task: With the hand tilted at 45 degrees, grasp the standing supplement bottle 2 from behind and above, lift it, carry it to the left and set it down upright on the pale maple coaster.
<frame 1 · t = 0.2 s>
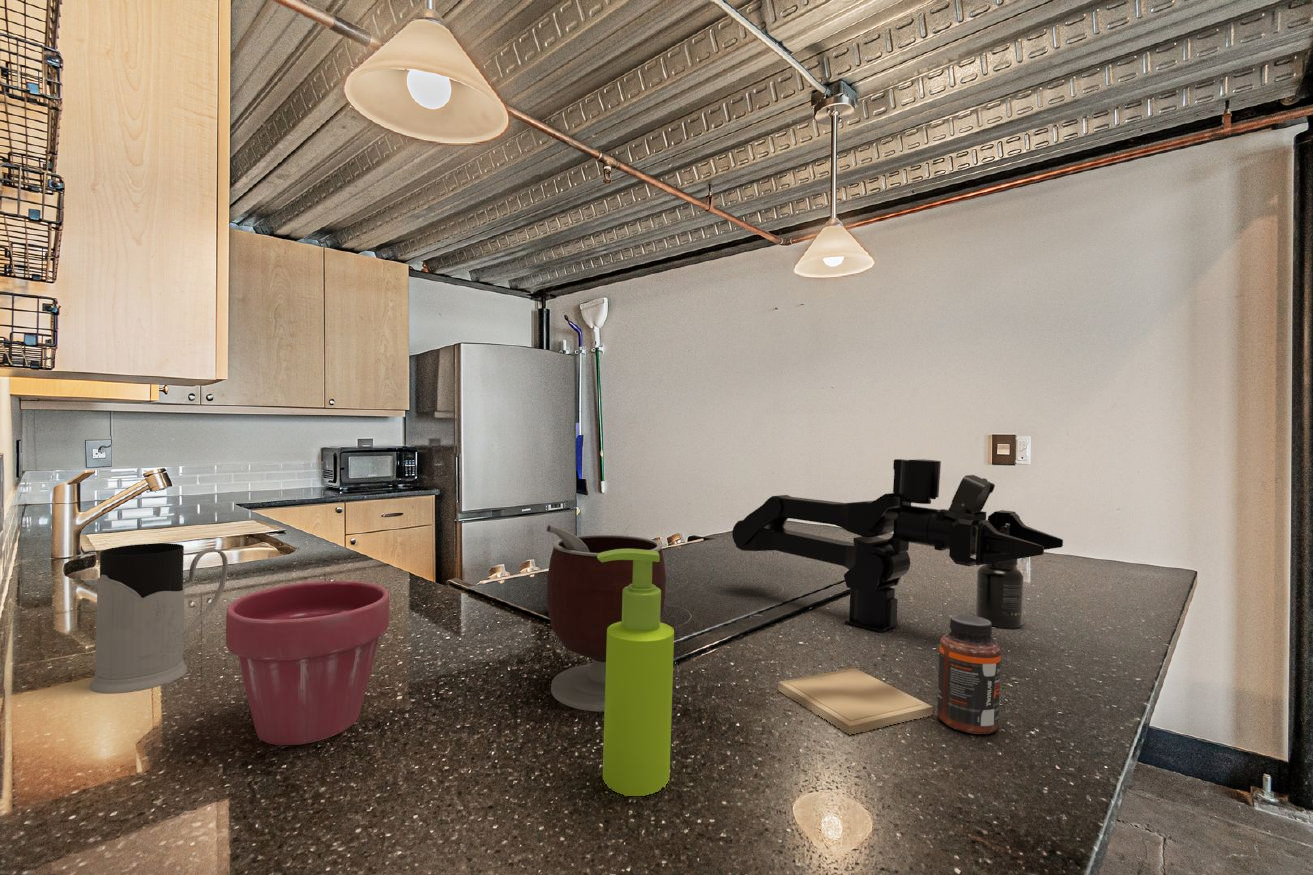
hand: (1053, 546, 83), 17 cm above the table, tool horizontal, fingers open, 9 cm apart
glass holder: (165, 670, 75), on the table
soap dispenser: (630, 780, 54), on the table
plant pot: (309, 725, 62), on the table
mate gourd: (598, 691, 73), on the table
supplement bottle 2: (967, 725, 67), on the table
coaster: (852, 702, 71), on the table
supplement bottle: (998, 624, 105), on the table
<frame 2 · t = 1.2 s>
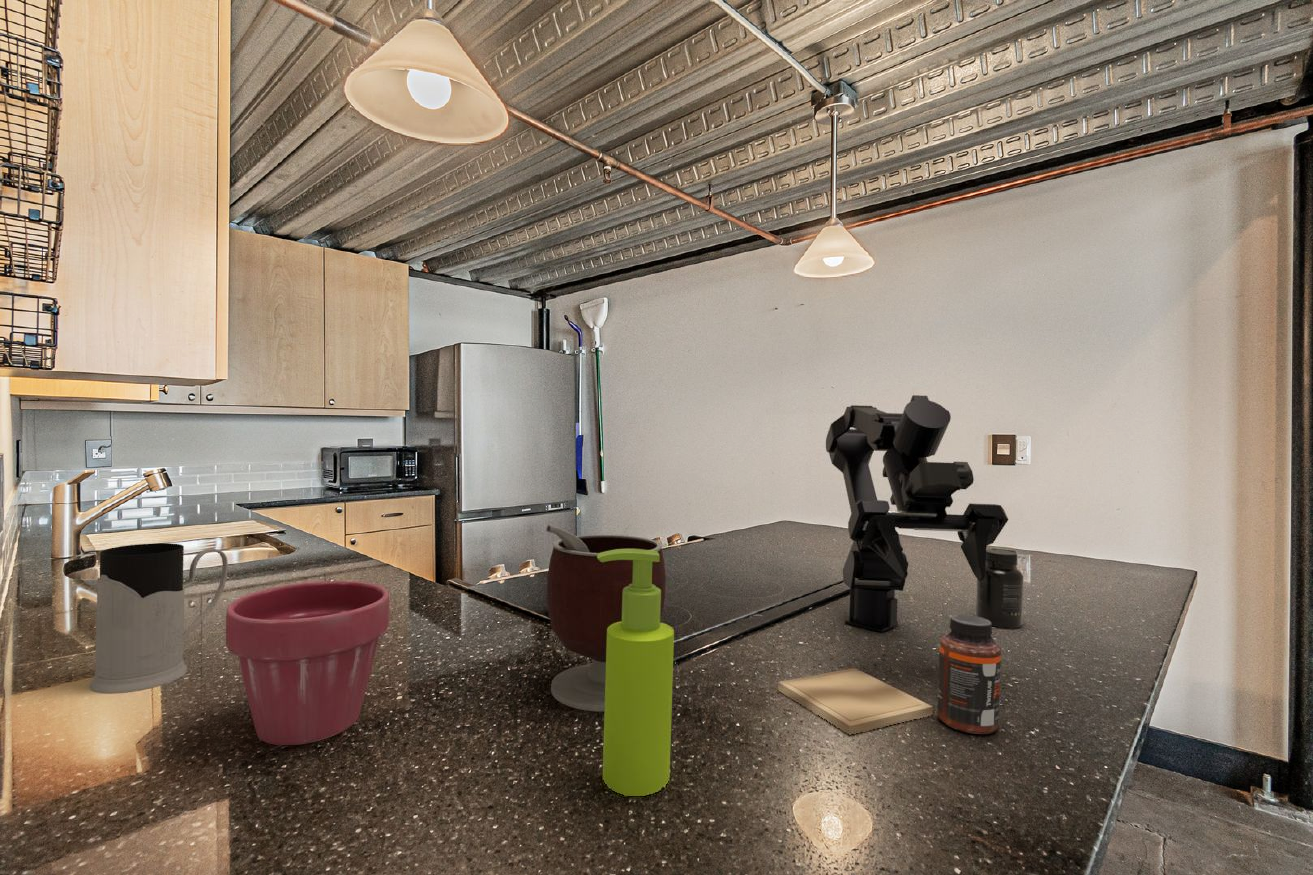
hand: (943, 578, 75), 14 cm above the table, tool tilted 45°, fingers open, 9 cm apart
nothing on the table moved.
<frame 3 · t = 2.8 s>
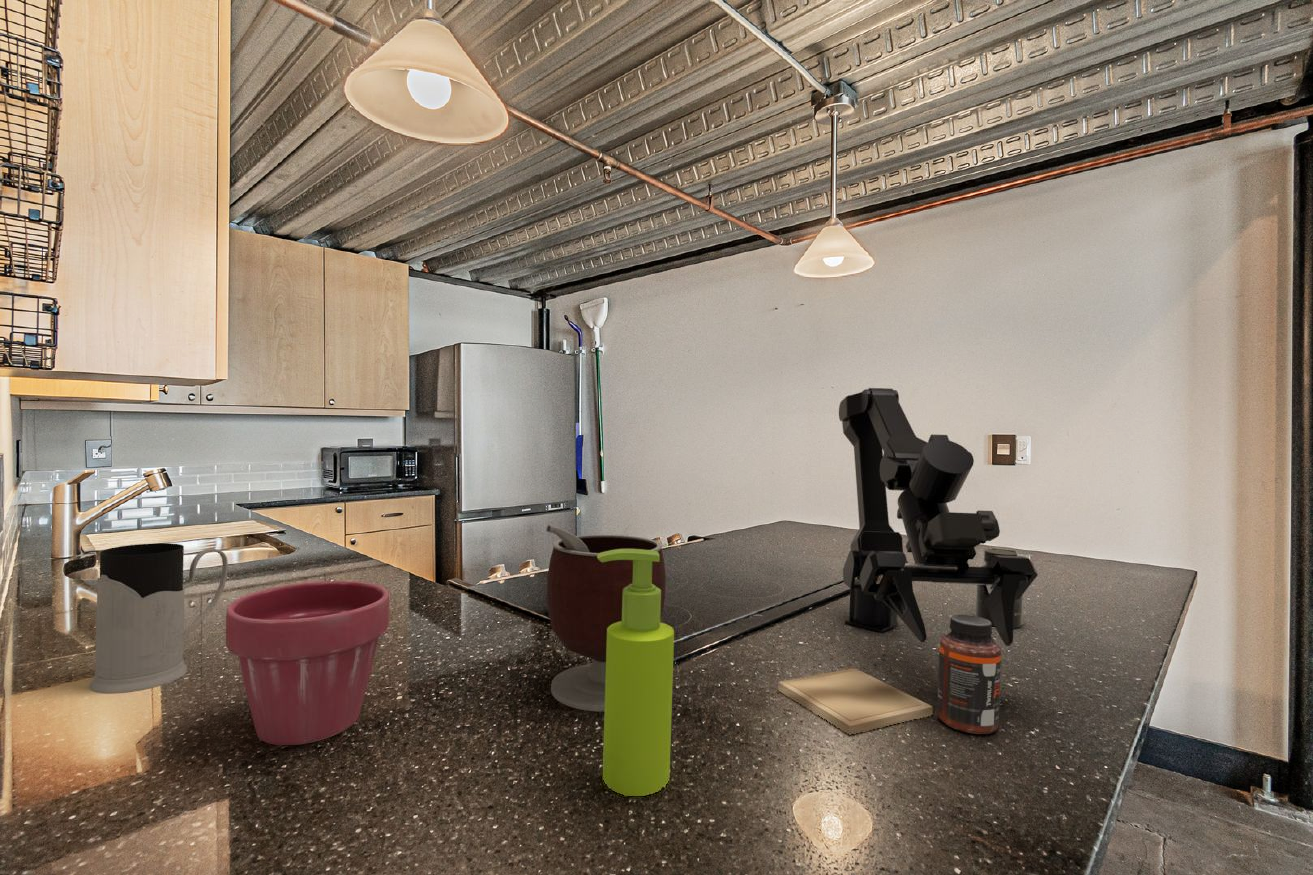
hand: (966, 642, 68), 9 cm above the table, tool tilted 45°, fingers open, 9 cm apart
nothing on the table moved.
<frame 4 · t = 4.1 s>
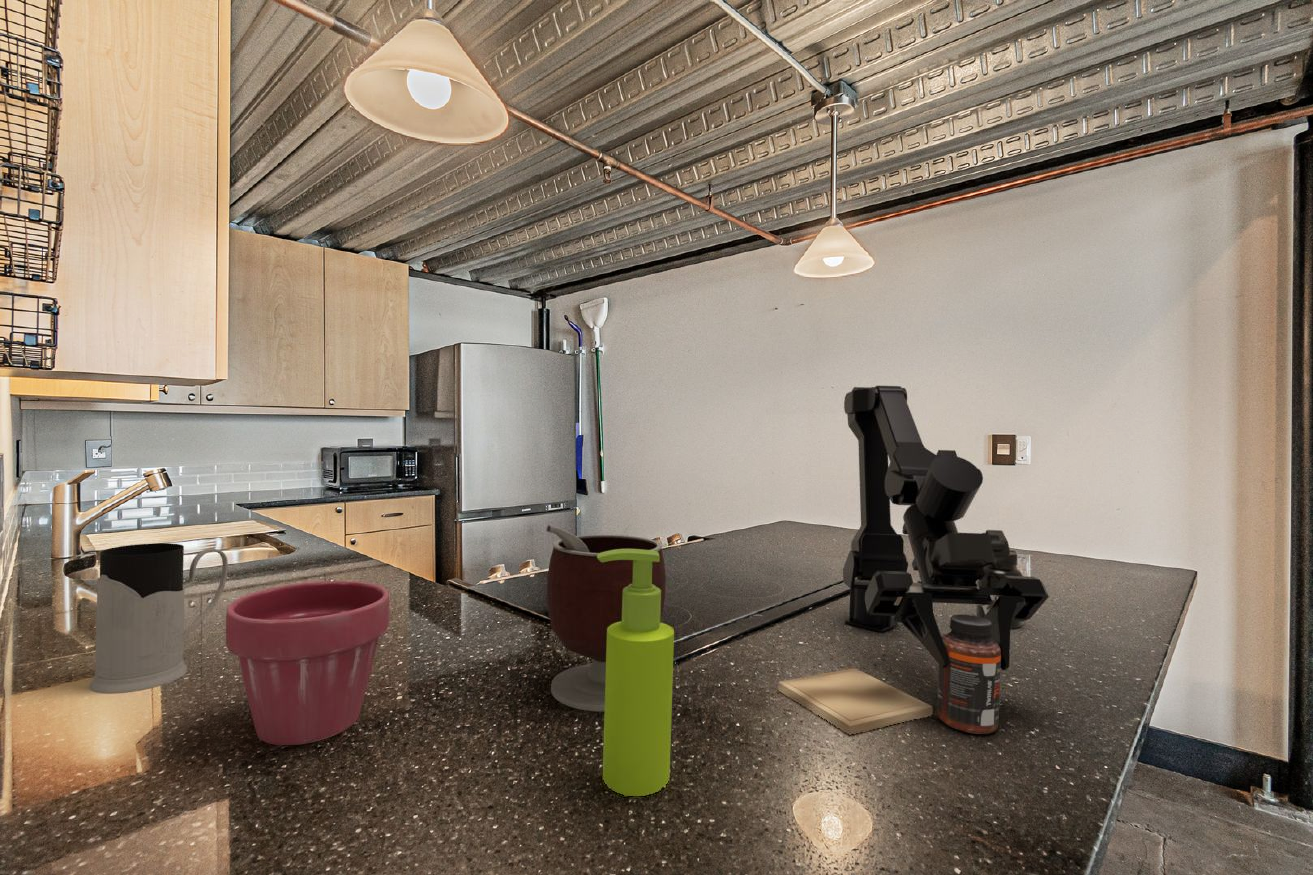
hand: (975, 667, 66), 7 cm above the table, tool tilted 45°, fingers closed on supplement bottle 2, 6 cm apart
supplement bottle 2: (967, 725, 67), on the table, touching gripper
everything else where it was.
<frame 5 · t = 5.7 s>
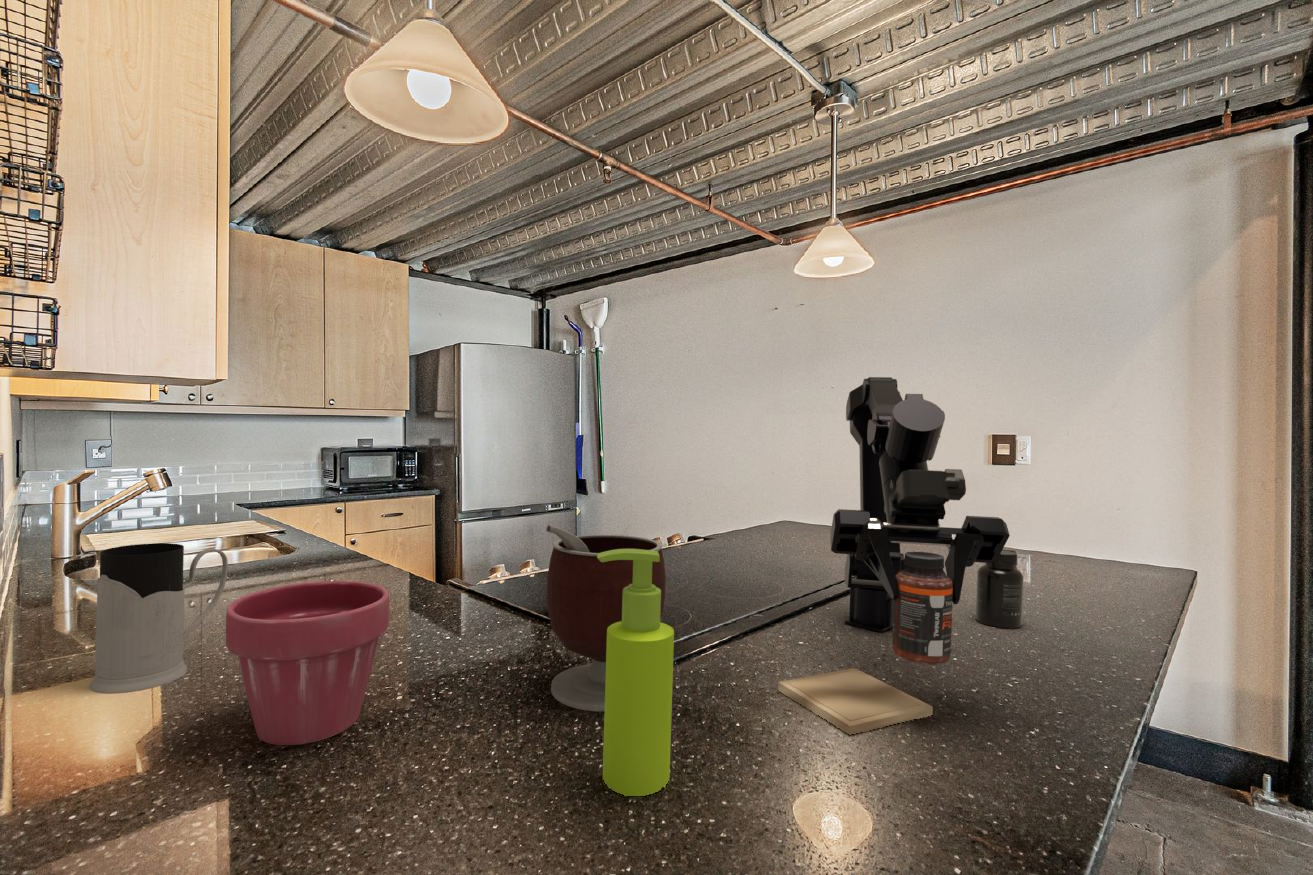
hand: (925, 600, 67), 13 cm above the table, tool tilted 45°, fingers closed on supplement bottle 2, 6 cm apart
supplement bottle 2: (920, 658, 69), point 6 cm above the table, touching gripper
everything else where it was.
when the fingers open (9 cm above the table, at t = 7.7 s): supplement bottle 2 stays where it is, resting on coaster.
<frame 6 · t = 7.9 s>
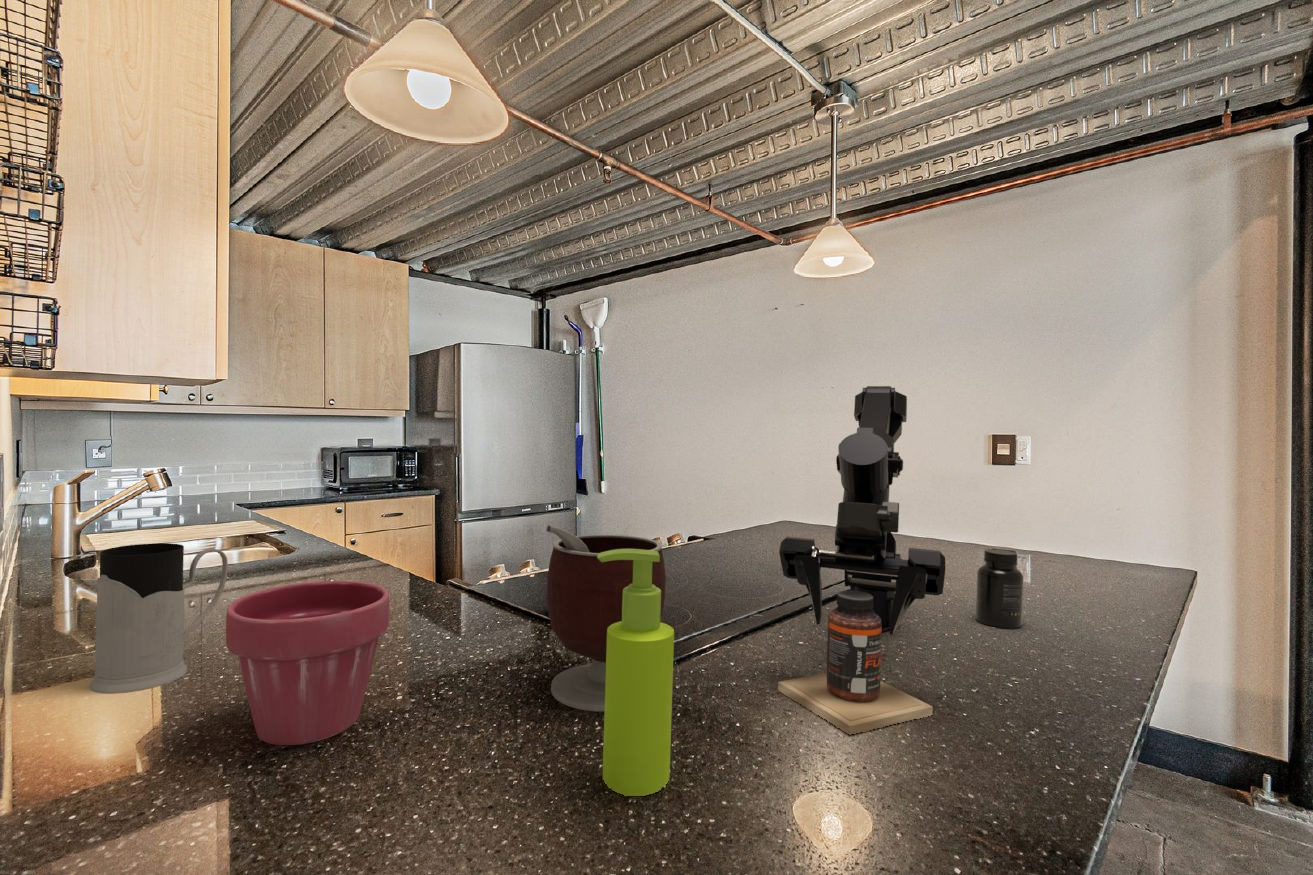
hand: (853, 627, 70), 9 cm above the table, tool tilted 45°, fingers open, 8 cm apart
supplement bottle 2: (852, 693, 72), point 1 cm above the table, touching coaster
everything else where it was.
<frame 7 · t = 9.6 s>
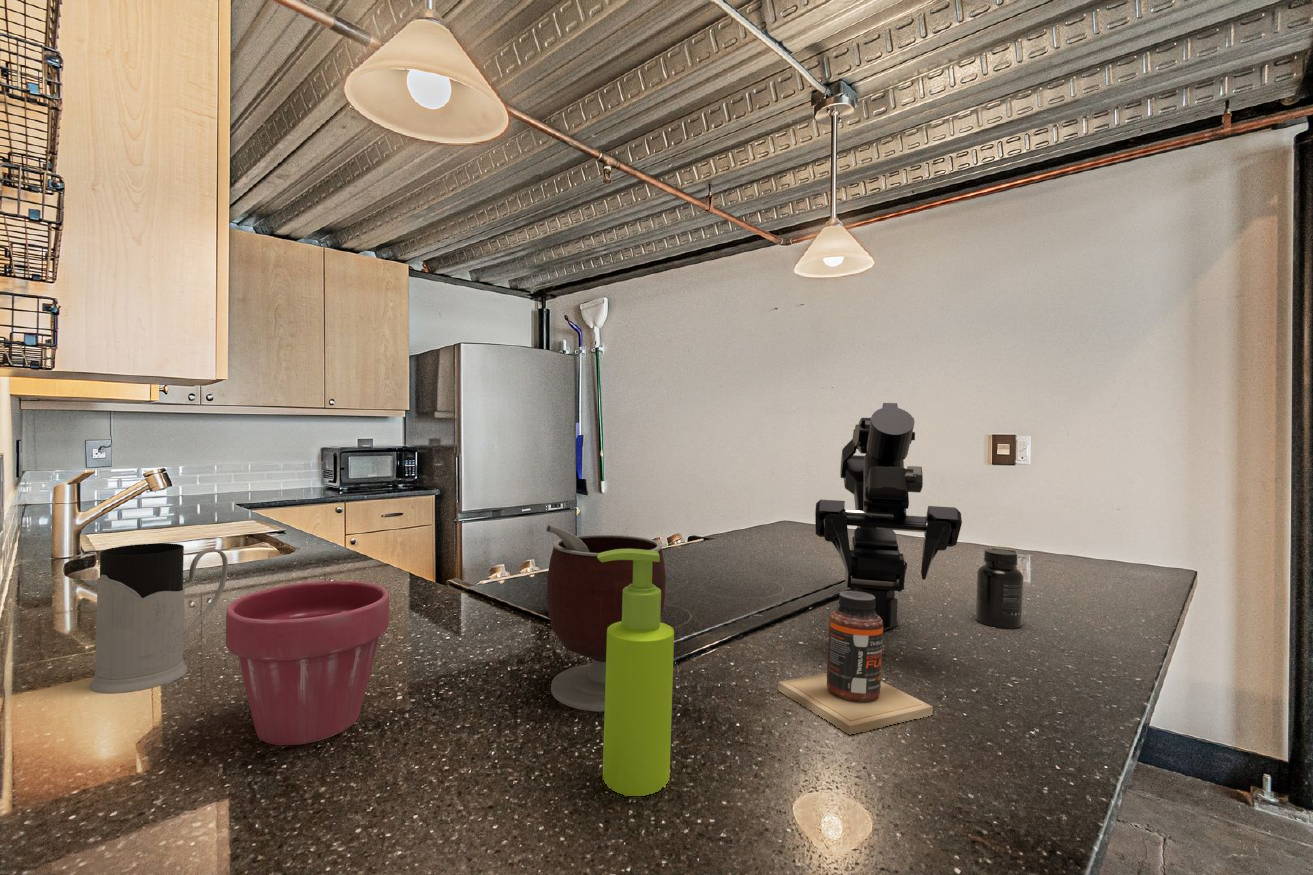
hand: (886, 574, 81), 13 cm above the table, tool tilted 45°, fingers open, 9 cm apart
nothing on the table moved.
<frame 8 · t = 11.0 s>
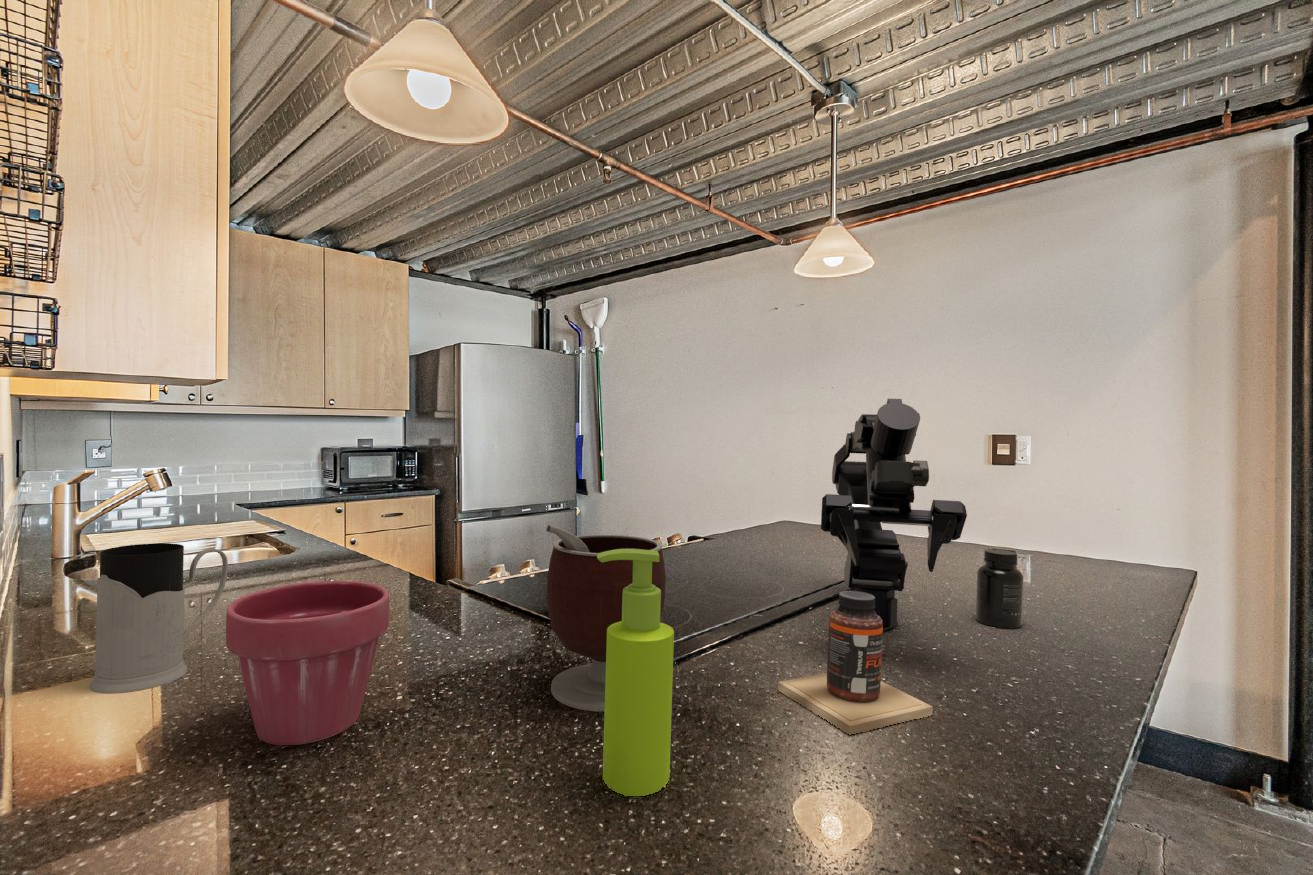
hand: (894, 567, 82), 14 cm above the table, tool tilted 45°, fingers open, 9 cm apart
nothing on the table moved.
at the end: supplement bottle 2 0.2 cm from the coaster (horizontally); supplement bottle 2 tilted 0°; supplement bottle 2 point 0.9 cm above the table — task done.
